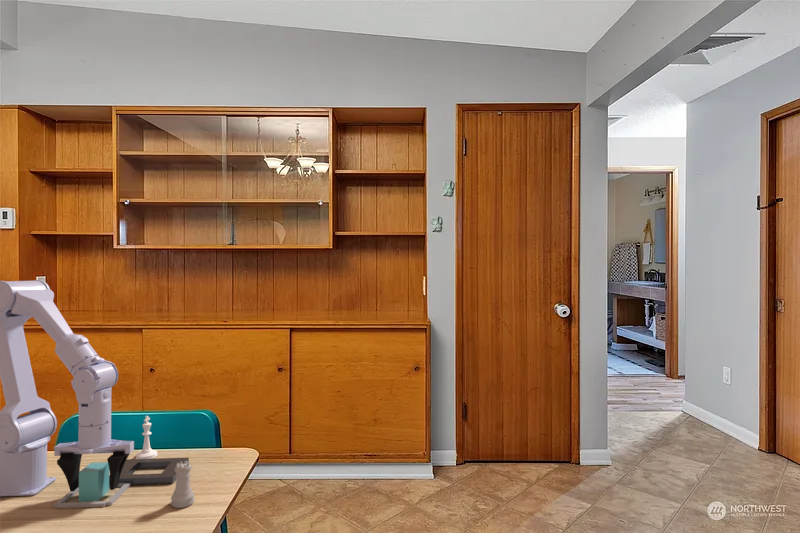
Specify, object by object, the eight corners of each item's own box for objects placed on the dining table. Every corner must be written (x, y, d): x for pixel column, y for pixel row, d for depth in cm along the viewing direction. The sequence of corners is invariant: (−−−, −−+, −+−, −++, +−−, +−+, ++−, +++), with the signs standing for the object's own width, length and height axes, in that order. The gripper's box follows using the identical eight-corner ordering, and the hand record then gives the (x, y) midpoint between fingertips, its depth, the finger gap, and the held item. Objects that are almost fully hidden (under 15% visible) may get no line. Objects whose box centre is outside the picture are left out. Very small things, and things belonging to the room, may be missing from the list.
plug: (78, 502, 99) (78, 472, 99) (90, 491, 104) (91, 462, 104) (97, 501, 99) (98, 471, 99) (109, 490, 104) (109, 462, 104)
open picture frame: (52, 508, 96) (52, 505, 96) (79, 486, 106) (79, 483, 106) (110, 506, 97) (110, 503, 97) (131, 484, 107) (131, 481, 107)
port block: (104, 486, 106) (104, 479, 106) (127, 465, 117) (127, 459, 117) (172, 483, 108) (172, 476, 108) (188, 463, 118) (188, 457, 118)
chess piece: (130, 459, 121) (131, 418, 121) (144, 451, 126) (144, 412, 126) (148, 460, 120) (149, 419, 120) (161, 453, 125) (162, 413, 125)
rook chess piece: (185, 510, 96) (186, 469, 96) (165, 507, 97) (165, 466, 97) (199, 499, 100) (199, 460, 100) (179, 497, 101) (180, 458, 101)
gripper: (45, 429, 97) (44, 499, 97) (123, 427, 98) (123, 495, 98) (65, 418, 104) (65, 483, 104) (138, 416, 105) (137, 480, 105)
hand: (94, 488), depth 101 cm, fingers open, 7 cm apart
